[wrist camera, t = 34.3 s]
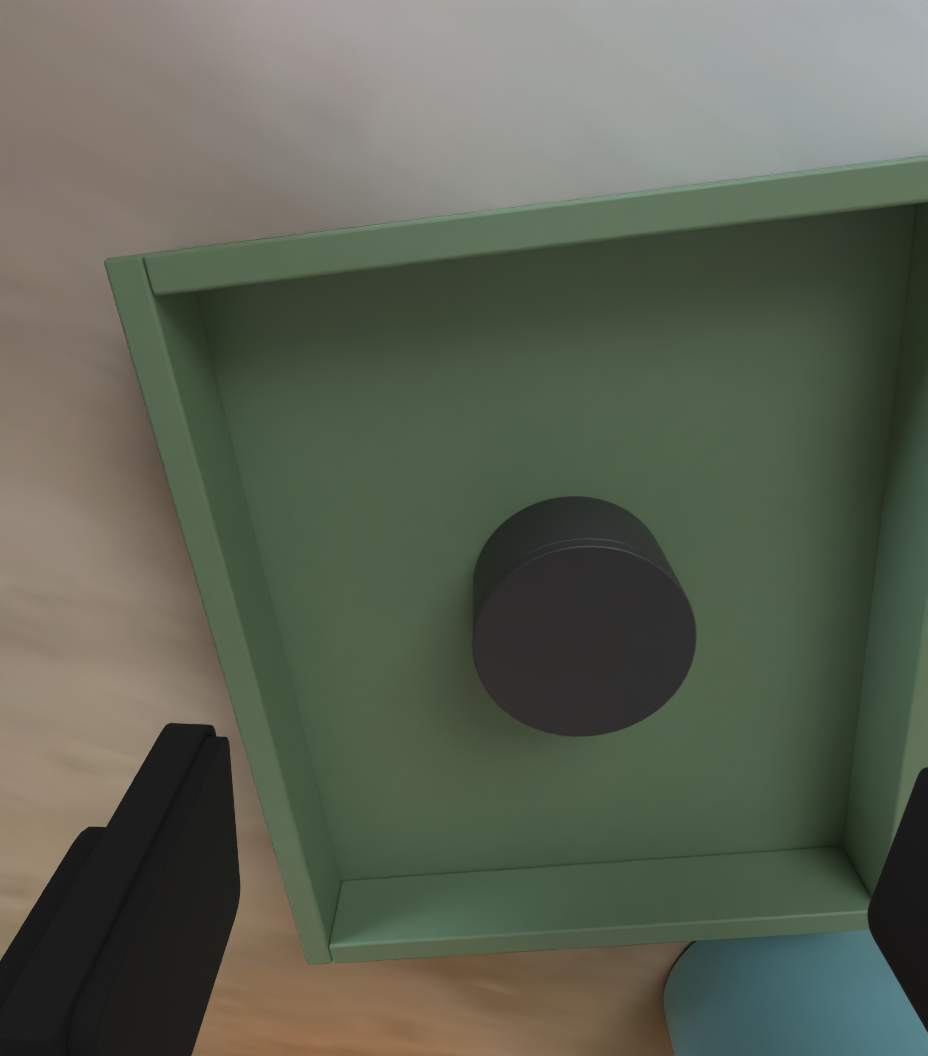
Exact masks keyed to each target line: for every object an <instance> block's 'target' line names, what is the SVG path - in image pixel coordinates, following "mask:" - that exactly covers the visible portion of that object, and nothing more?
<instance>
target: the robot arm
mask: <svg viewBox="0 0 928 1056" xmlns="http://www.w3.org/2000/svg"><path fill="white" fill-rule="evenodd" d="M239 897H240V874H239V861H238V849H237V836H236V823H235V810H234V798H233V785H232V772H231V760H230V747H229V741H228V738H227V737H216V732H215V729H214V727H213V726H212V725H201V724H178V723H169V724H167V725H166V726H165V727H164V729H163V730H162V731H161V733H160V735H159V737H158V738H157V740H156V742H155V744H154V745H153V747H152V749H151V750H150V752H149V754H148V756H147V757H146V759H145V761H144V763H143V764H142V766H141V768H140V770H139V771H138V773H137V775H136V776H135V778H134V780H133V782H132V783H131V785H130V787H129V789H128V790H127V792H126V794H125V795H124V797H123V799H122V801H121V802H120V804H119V806H118V808H117V809H116V811H115V813H114V815H113V816H112V818H111V820H110V821H109V823H108V825H107V827H88V828H86V829H85V830H84V831H82V832H81V833H80V834H79V836H78V837H77V838H76V840H75V841H74V842H73V844H72V845H71V847H70V849H69V850H68V852H67V853H66V855H65V857H64V858H63V860H62V862H61V863H60V865H59V866H58V868H57V870H56V871H55V873H54V875H53V876H52V878H51V879H50V881H49V883H48V884H47V886H46V888H45V889H44V891H43V892H42V894H41V896H40V897H39V899H38V901H37V902H36V904H35V905H34V907H33V909H32V910H31V912H30V914H29V915H28V917H27V918H26V920H25V922H24V923H23V925H22V927H21V928H20V930H19V931H18V933H17V935H16V936H15V938H14V940H13V941H12V943H11V944H10V946H9V948H8V949H7V951H6V953H5V954H4V956H3V957H2V959H1V961H0V1056H191V1055H192V1052H193V1049H194V1046H195V1043H196V1039H197V1036H198V1033H199V1030H200V1027H201V1024H202V1021H203V1017H204V1014H205V1011H206V1008H207V1005H208V1002H209V999H210V995H211V992H212V989H213V986H214V983H215V980H216V977H217V973H218V970H219V967H220V964H221V961H222V958H223V955H224V951H225V948H226V945H227V942H228V939H229V936H230V933H231V929H232V926H233V923H234V920H235V917H236V913H237V909H238V904H239ZM867 918H868V925H869V929H870V932H871V934H872V936H873V939H874V941H875V942H876V944H877V946H878V947H879V949H880V951H881V953H882V954H883V956H884V958H885V960H886V961H887V963H888V965H889V966H890V968H891V970H892V972H893V973H894V975H895V977H896V979H897V980H898V982H899V984H900V986H901V987H902V989H903V991H904V992H905V994H906V996H907V998H908V999H909V1001H910V1003H911V1005H912V1006H913V1008H914V1010H915V1012H916V1013H917V1015H918V1017H919V1018H920V1020H921V1022H922V1024H923V1025H924V1027H925V1029H926V1031H927V1032H928V767H925V768H923V769H922V770H921V771H920V772H919V774H918V776H917V779H916V781H915V784H914V787H913V789H912V792H911V795H910V797H909V800H908V803H907V805H906V808H905V811H904V813H903V816H902V819H901V821H900V824H899V827H898V829H897V832H896V835H895V837H894V840H893V843H892V845H891V848H890V851H889V853H888V856H887V859H886V861H885V864H884V867H883V869H882V872H881V875H880V877H879V880H878V883H877V885H876V888H875V891H874V893H873V896H872V899H871V901H870V904H869V907H868V916H867Z"/></svg>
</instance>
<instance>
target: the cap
mask: <svg viewBox="0 0 928 1056" xmlns="http://www.w3.org/2000/svg"><path fill="white" fill-rule="evenodd" d="M696 643H697V627H696V621H695V616H694V612H693V609H692V607H691V604H690V602H689V599H688V597H687V596H686V594H685V592H684V590H683V588H682V586H681V584H680V583H679V581H678V579H677V577H676V575H675V573H674V571H673V570H672V568H671V566H670V564H669V562H668V560H667V558H666V557H665V555H664V553H663V551H662V549H661V547H660V545H659V544H658V542H657V540H656V539H655V537H654V535H653V534H652V533H651V531H650V530H649V529H648V528H647V526H646V525H645V524H644V523H643V522H641V521H640V520H639V519H638V518H637V517H636V516H634V515H633V514H632V513H630V512H629V511H627V510H625V509H623V508H622V507H620V506H618V505H616V504H613V503H610V502H607V501H604V500H600V499H596V498H591V497H581V496H568V497H559V498H552V499H548V500H545V501H541V502H538V503H535V504H533V505H531V506H528V507H526V508H524V509H522V510H521V511H519V512H517V513H515V514H514V515H512V516H511V517H510V518H508V519H507V520H506V521H505V522H503V523H502V524H501V525H500V526H499V527H498V528H497V529H496V530H495V531H494V533H493V534H492V535H491V537H490V538H489V539H488V540H487V542H486V544H485V546H484V547H483V549H482V551H481V553H480V556H479V558H478V560H477V564H476V568H475V572H474V580H473V627H472V648H473V659H474V664H475V668H476V671H477V674H478V676H479V679H480V681H481V683H482V685H483V686H484V688H485V690H486V691H487V693H488V694H489V695H490V697H491V698H492V699H493V701H494V702H495V703H496V704H497V705H498V706H499V707H500V708H501V709H502V710H504V711H505V712H506V713H507V714H509V715H510V716H511V717H513V718H514V719H516V720H518V721H519V722H521V723H523V724H525V725H527V726H529V727H532V728H534V729H537V730H540V731H543V732H546V733H550V734H555V735H561V736H572V737H587V736H596V735H603V734H608V733H612V732H616V731H619V730H622V729H625V728H628V727H630V726H632V725H634V724H636V723H638V722H641V721H642V720H644V719H646V718H647V717H649V716H651V715H652V714H654V713H655V712H656V711H657V710H659V709H660V708H661V707H662V706H664V705H665V704H666V703H667V702H668V701H669V700H670V699H671V698H672V697H673V696H674V694H675V693H676V692H677V690H678V689H679V688H680V687H681V685H682V683H683V682H684V680H685V678H686V677H687V675H688V673H689V670H690V668H691V665H692V663H693V659H694V655H695V651H696Z"/></svg>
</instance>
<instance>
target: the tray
mask: <svg viewBox="0 0 928 1056" xmlns="http://www.w3.org/2000/svg"><path fill="white" fill-rule="evenodd" d="M105 268H106V271H107V275H108V278H109V282H110V285H111V289H112V292H113V295H114V299H115V302H116V306H117V309H118V313H119V316H120V320H121V323H122V326H123V330H124V333H125V337H126V340H127V344H128V347H129V351H130V354H131V358H132V361H133V364H134V368H135V371H136V375H137V378H138V382H139V385H140V389H141V392H142V395H143V399H144V402H145V406H146V409H147V413H148V416H149V420H150V423H151V426H152V430H153V433H154V437H155V440H156V444H157V447H158V451H159V454H160V458H161V461H162V464H163V468H164V471H165V475H166V478H167V482H168V485H169V489H170V492H171V495H172V499H173V502H174V506H175V509H176V513H177V516H178V520H179V523H180V526H181V530H182V533H183V537H184V540H185V544H186V547H187V551H188V554H189V558H190V561H191V564H192V568H193V571H194V575H195V578H196V582H197V585H198V589H199V592H200V595H201V599H202V602H203V606H204V609H205V613H206V616H207V620H208V623H209V626H210V630H211V633H212V637H213V640H214V644H215V647H216V651H217V654H218V657H219V661H220V664H221V668H222V671H223V675H224V678H225V682H226V685H227V689H228V692H229V695H230V699H231V702H232V706H233V709H234V713H235V716H236V720H237V723H238V726H239V730H240V733H241V737H242V740H243V744H244V747H245V751H246V754H247V757H248V761H249V764H250V768H251V771H252V775H253V778H254V782H255V785H256V789H257V792H258V795H259V799H260V802H261V806H262V809H263V813H264V816H265V820H266V823H267V826H268V830H269V833H270V837H271V840H272V844H273V847H274V851H275V854H276V857H277V861H278V864H279V868H280V871H281V875H282V878H283V882H284V885H285V888H286V892H287V895H288V899H289V902H290V906H291V909H292V913H293V916H294V920H295V923H296V926H297V930H298V933H299V937H300V940H301V944H302V947H303V951H304V954H305V957H306V961H307V964H309V965H313V964H329V963H331V962H332V960H333V962H334V963H348V962H364V961H380V960H396V959H412V958H428V957H444V956H460V955H476V954H492V953H508V952H525V951H541V950H557V949H573V948H589V947H605V946H621V945H637V944H653V943H669V942H685V941H701V940H717V939H733V938H749V937H765V936H781V935H797V934H813V933H829V932H845V931H861V930H870V929H869V925H868V918H867V916H868V907H869V904H870V901H871V899H872V896H873V893H874V891H875V888H876V885H877V883H878V880H879V877H880V875H881V872H882V869H883V867H884V864H885V861H886V859H887V856H888V853H889V851H890V848H891V845H892V843H893V840H894V837H895V835H896V832H897V829H898V827H899V824H900V821H901V819H902V816H903V813H904V811H905V808H906V805H907V803H908V800H909V797H910V795H911V792H912V789H913V787H914V784H915V781H916V779H917V776H918V774H919V772H920V771H921V770H922V769H923V768H925V767H928V155H926V156H918V157H910V158H902V159H895V160H887V161H879V162H871V163H863V164H855V165H847V166H839V167H831V168H823V169H815V170H807V171H799V172H791V173H783V174H775V175H767V176H759V177H751V178H743V179H735V180H727V181H719V182H711V183H703V184H695V185H687V186H680V187H672V188H664V189H656V190H648V191H640V192H632V193H624V194H616V195H608V196H600V197H592V198H584V199H576V200H568V201H560V202H552V203H544V204H536V205H528V206H520V207H512V208H504V209H496V210H488V211H480V212H472V213H465V214H457V215H449V216H441V217H433V218H425V219H417V220H409V221H401V222H393V223H385V224H377V225H369V226H361V227H353V228H345V229H337V230H329V231H321V232H313V233H305V234H297V235H289V236H281V237H273V238H265V239H258V240H250V241H242V242H234V243H226V244H218V245H210V246H202V247H194V248H186V249H178V250H170V251H162V252H154V253H146V254H139V255H131V256H123V257H115V258H108V259H106V260H105ZM568 496H581V497H591V498H596V499H600V500H604V501H607V502H610V503H613V504H616V505H618V506H620V507H622V508H623V509H625V510H627V511H629V512H630V513H632V514H633V515H634V516H636V517H637V518H638V519H639V520H640V521H641V522H643V523H644V524H645V525H646V526H647V528H648V529H649V530H650V531H651V533H652V534H653V535H654V537H655V539H656V540H657V542H658V544H659V545H660V547H661V549H662V551H663V553H664V555H665V557H666V558H667V560H668V562H669V564H670V566H671V568H672V570H673V571H674V573H675V575H676V577H677V579H678V581H679V583H680V584H681V586H682V588H683V590H684V592H685V594H686V596H687V597H688V599H689V602H690V604H691V607H692V609H693V612H694V616H695V621H696V627H697V643H696V651H695V655H694V659H693V663H692V665H691V668H690V670H689V673H688V675H687V677H686V678H685V680H684V682H683V683H682V685H681V687H680V688H679V689H678V690H677V692H676V693H675V694H674V696H673V697H672V698H671V699H670V700H669V701H668V702H667V703H666V704H665V705H664V706H662V707H661V708H660V709H659V710H657V711H656V712H655V713H654V714H652V715H651V716H649V717H647V718H646V719H644V720H642V721H641V722H638V723H636V724H634V725H632V726H630V727H628V728H625V729H622V730H619V731H616V732H612V733H608V734H603V735H596V736H587V737H572V736H561V735H555V734H550V733H546V732H543V731H540V730H537V729H534V728H532V727H529V726H527V725H525V724H523V723H521V722H519V721H518V720H516V719H514V718H513V717H511V716H510V715H509V714H507V713H506V712H505V711H504V710H502V709H501V708H500V707H499V706H498V705H497V704H496V703H495V702H494V701H493V699H492V698H491V697H490V695H489V694H488V693H487V691H486V690H485V688H484V686H483V685H482V683H481V681H480V679H479V676H478V674H477V671H476V668H475V664H474V659H473V648H472V627H473V580H474V572H475V568H476V564H477V560H478V558H479V556H480V553H481V551H482V549H483V547H484V546H485V544H486V542H487V540H488V539H489V538H490V537H491V535H492V534H493V533H494V531H495V530H496V529H497V528H498V527H499V526H500V525H501V524H502V523H503V522H505V521H506V520H507V519H508V518H510V517H511V516H512V515H514V514H515V513H517V512H519V511H521V510H522V509H524V508H526V507H528V506H531V505H533V504H535V503H538V502H541V501H545V500H548V499H552V498H559V497H568Z"/></svg>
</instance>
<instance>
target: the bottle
mask: <svg viewBox="0 0 928 1056" xmlns="http://www.w3.org/2000/svg"><path fill="white" fill-rule="evenodd" d="M663 1005H664V1014H665V1018H666V1022H667V1027H668V1031H669V1035H670V1039H671V1044H672V1048H673V1052H674V1056H928V1032H927V1031H926V1029H925V1027H924V1025H923V1024H922V1022H921V1020H920V1018H919V1017H918V1015H917V1013H916V1012H915V1010H914V1008H913V1006H912V1005H911V1003H910V1001H909V999H908V998H907V996H906V994H905V992H904V991H903V989H902V987H901V986H900V984H899V982H898V980H897V979H896V977H895V975H894V973H893V972H892V970H891V968H890V966H889V965H888V963H887V961H886V960H885V958H884V956H883V954H882V953H881V951H880V949H879V947H878V946H877V944H876V942H875V941H874V939H873V936H872V934H871V932H870V930H861V931H845V932H829V933H813V934H797V935H781V936H765V937H749V938H733V939H717V940H701V941H696V942H695V943H693V944H692V945H691V946H690V947H689V948H688V949H687V950H686V951H685V952H684V953H683V955H682V956H681V957H680V958H679V960H678V961H677V963H676V964H675V965H674V967H673V969H672V971H671V973H670V975H669V977H668V979H667V983H666V986H665V990H664V1000H663Z"/></svg>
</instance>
